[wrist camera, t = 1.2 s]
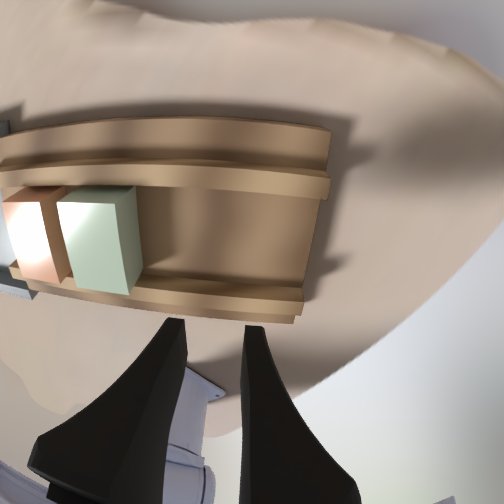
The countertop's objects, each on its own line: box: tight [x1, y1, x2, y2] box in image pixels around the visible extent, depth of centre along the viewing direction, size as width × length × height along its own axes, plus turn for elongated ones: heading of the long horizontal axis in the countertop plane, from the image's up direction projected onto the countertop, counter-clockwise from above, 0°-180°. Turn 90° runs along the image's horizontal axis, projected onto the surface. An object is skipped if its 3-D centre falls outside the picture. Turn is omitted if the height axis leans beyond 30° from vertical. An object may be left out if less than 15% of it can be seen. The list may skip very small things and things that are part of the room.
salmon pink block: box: [1, 185, 72, 284], centre depth 16 cm, size 4×6×3 cm, turn 175°
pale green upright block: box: [57, 185, 144, 295], centre depth 16 cm, size 4×6×3 cm, turn 175°
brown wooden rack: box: [0, 116, 332, 324], centre depth 18 cm, size 24×14×4 cm, turn 85°
